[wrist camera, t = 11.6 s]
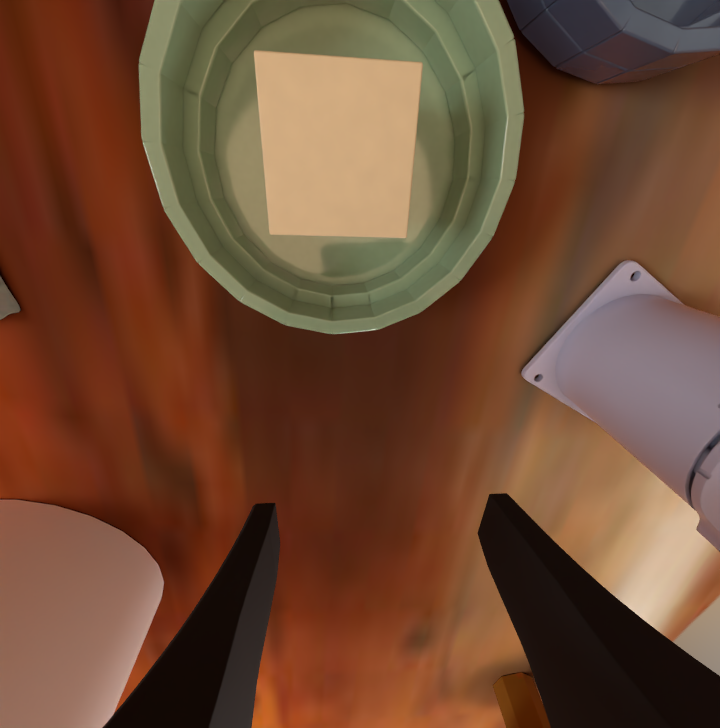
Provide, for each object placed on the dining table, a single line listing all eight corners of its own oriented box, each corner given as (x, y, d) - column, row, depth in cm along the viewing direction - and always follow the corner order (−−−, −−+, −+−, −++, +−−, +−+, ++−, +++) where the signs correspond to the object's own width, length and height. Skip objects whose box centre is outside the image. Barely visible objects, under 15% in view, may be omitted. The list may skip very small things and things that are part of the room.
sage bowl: (533, 116, 14) (601, 91, 11) (377, 343, 19) (388, 379, 15) (267, -143, 10) (235, -311, 7) (150, 218, 15) (94, 227, 11)
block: (392, 104, 13) (423, 61, 9) (384, 224, 15) (407, 238, 11) (279, 97, 13) (252, 49, 8) (287, 221, 15) (269, 234, 10)
